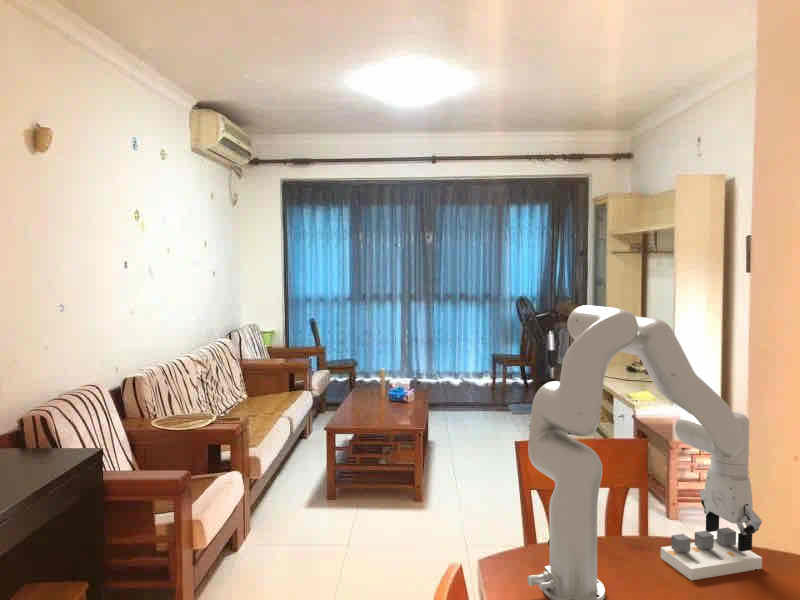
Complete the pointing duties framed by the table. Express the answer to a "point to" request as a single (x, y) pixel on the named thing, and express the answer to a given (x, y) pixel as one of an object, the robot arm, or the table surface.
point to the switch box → (711, 560)
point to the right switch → (726, 536)
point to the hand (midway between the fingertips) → (728, 540)
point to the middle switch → (704, 540)
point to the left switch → (680, 543)
